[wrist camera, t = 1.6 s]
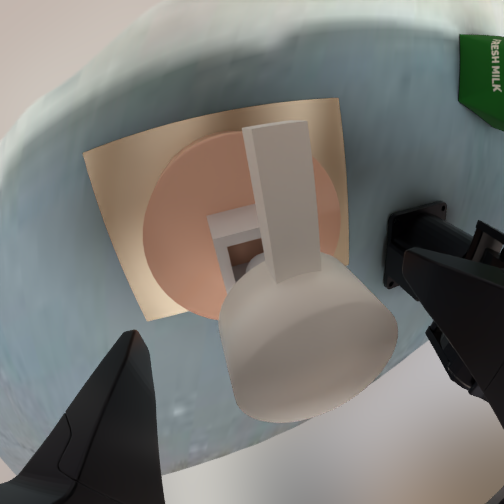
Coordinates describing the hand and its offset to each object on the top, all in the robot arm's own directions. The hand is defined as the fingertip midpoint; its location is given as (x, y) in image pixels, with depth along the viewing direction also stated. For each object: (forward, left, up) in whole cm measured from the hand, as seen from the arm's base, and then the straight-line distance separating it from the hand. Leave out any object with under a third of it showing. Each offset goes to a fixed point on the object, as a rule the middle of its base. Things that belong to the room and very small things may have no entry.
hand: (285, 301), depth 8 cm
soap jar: (0, 0, -9) cm, 9 cm away
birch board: (0, 0, -9) cm, 9 cm away
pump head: (0, -2, -2) cm, 2 cm away
